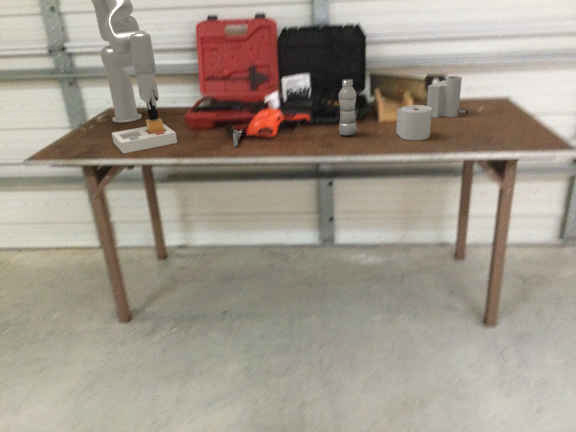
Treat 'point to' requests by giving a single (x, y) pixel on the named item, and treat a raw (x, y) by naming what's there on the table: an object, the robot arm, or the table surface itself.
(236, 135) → the caliper
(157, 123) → the plug
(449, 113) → the grey cylinder cluster
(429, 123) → the toilet tissue
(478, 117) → the table surface
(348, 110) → the plastic bottle
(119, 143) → the socket board
